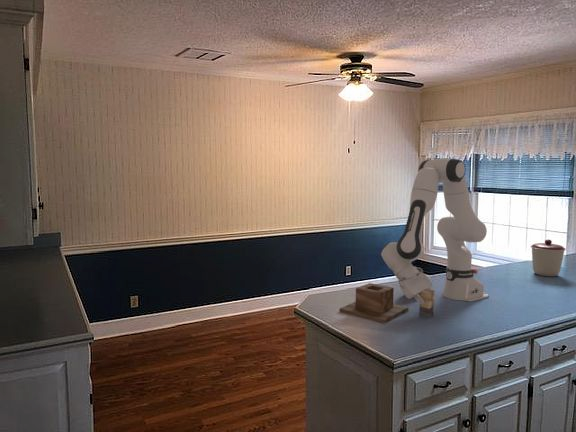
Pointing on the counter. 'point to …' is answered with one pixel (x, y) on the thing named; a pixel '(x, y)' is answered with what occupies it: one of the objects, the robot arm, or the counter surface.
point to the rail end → (427, 303)
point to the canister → (547, 258)
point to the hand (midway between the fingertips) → (428, 301)
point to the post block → (374, 304)
